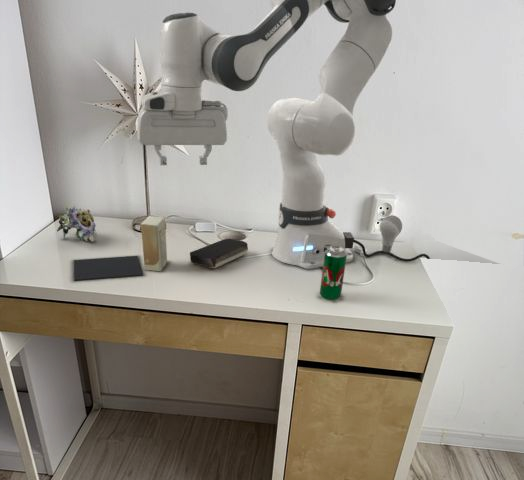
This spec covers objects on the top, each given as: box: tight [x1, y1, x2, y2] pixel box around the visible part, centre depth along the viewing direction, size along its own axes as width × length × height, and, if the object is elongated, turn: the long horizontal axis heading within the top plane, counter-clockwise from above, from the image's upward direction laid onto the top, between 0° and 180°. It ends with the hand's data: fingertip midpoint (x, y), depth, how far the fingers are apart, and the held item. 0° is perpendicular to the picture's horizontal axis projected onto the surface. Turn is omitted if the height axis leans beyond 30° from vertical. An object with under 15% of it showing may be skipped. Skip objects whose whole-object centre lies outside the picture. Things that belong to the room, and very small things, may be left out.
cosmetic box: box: [140, 215, 168, 272], centre depth 130 cm, size 6×4×12 cm
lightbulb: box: [379, 214, 403, 253], centre depth 145 cm, size 6×6×11 cm
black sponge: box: [189, 238, 249, 269], centre depth 138 cm, size 16×8×4 cm, turn 143°
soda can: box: [319, 246, 347, 301], centre depth 120 cm, size 5×5×12 cm
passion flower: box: [56, 204, 98, 243], centre depth 144 cm, size 11×11×12 cm
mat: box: [73, 255, 143, 282], centre depth 130 cm, size 16×12×1 cm
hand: (183, 164), depth 122 cm, fingers open, 8 cm apart
